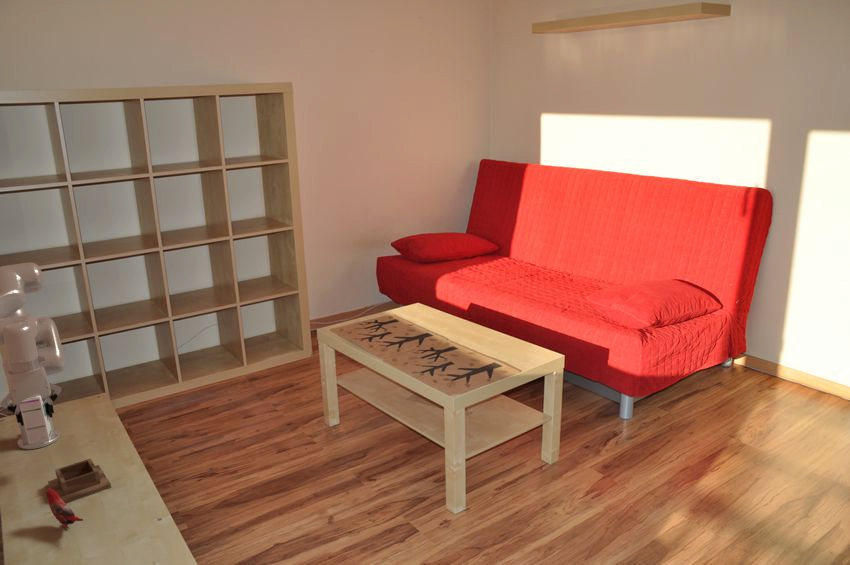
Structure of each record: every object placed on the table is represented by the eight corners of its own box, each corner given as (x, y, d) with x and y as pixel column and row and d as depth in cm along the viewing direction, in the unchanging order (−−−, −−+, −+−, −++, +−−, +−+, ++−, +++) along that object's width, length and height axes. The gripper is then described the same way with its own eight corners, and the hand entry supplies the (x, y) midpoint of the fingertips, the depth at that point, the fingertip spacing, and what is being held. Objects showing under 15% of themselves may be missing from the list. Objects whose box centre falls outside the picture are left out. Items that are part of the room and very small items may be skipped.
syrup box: (50, 440, 202) (41, 396, 198) (27, 445, 200) (18, 400, 196) (52, 432, 208) (43, 388, 203) (30, 436, 205) (21, 392, 201)
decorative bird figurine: (57, 516, 185) (50, 483, 183) (92, 538, 175) (86, 504, 173) (46, 521, 183) (39, 488, 180) (81, 544, 173) (74, 509, 171)
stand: (48, 485, 201) (45, 469, 199) (99, 468, 209) (96, 453, 207) (58, 506, 190) (54, 489, 189) (111, 487, 198) (108, 471, 197)
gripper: (55, 353, 205) (65, 406, 210) (-12, 368, 195) (1, 424, 200) (60, 360, 199) (71, 415, 204) (-9, 377, 189) (4, 434, 194)
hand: (36, 419), depth 202 cm, fingers closed on syrup box, 6 cm apart
